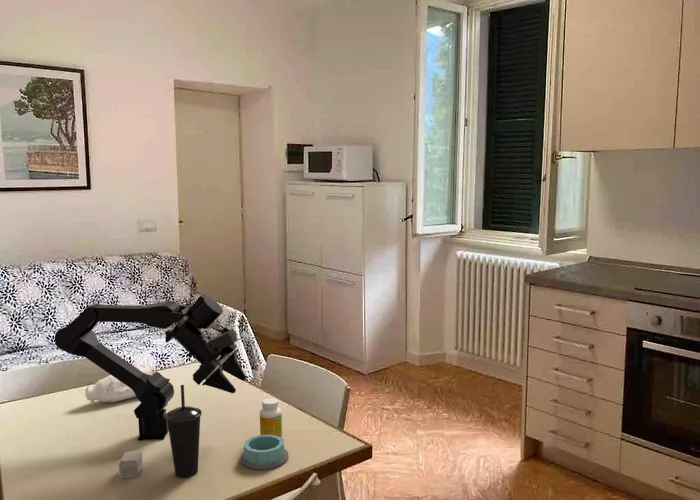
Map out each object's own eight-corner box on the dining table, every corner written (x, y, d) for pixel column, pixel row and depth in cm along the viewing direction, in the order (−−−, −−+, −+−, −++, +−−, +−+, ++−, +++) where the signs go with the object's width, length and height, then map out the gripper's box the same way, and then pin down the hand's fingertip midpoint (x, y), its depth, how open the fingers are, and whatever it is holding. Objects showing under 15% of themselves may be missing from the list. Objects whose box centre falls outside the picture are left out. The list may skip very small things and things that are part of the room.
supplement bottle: (278, 443, 148) (277, 405, 147) (257, 442, 149) (256, 404, 148) (285, 434, 153) (284, 397, 152) (264, 433, 154) (263, 396, 153)
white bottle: (83, 403, 176) (81, 377, 176) (147, 388, 188) (145, 364, 187) (91, 411, 170) (89, 384, 169) (156, 395, 182) (155, 370, 181)
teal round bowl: (238, 471, 134) (237, 455, 134) (242, 449, 145) (242, 434, 144) (287, 468, 135) (287, 452, 134) (288, 447, 146) (288, 432, 145)
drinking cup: (172, 465, 137) (168, 380, 135) (206, 463, 138) (202, 378, 136) (165, 482, 130) (160, 392, 127) (201, 480, 130) (197, 390, 128)
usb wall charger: (142, 467, 137) (142, 451, 136) (135, 483, 130) (135, 465, 129) (124, 469, 136) (123, 452, 136) (116, 484, 129) (115, 466, 129)
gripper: (203, 328, 139) (252, 376, 140) (227, 310, 158) (270, 352, 158) (172, 361, 141) (220, 408, 141) (199, 340, 159) (242, 381, 160)
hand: (240, 385), depth 150 cm, fingers open, 9 cm apart
